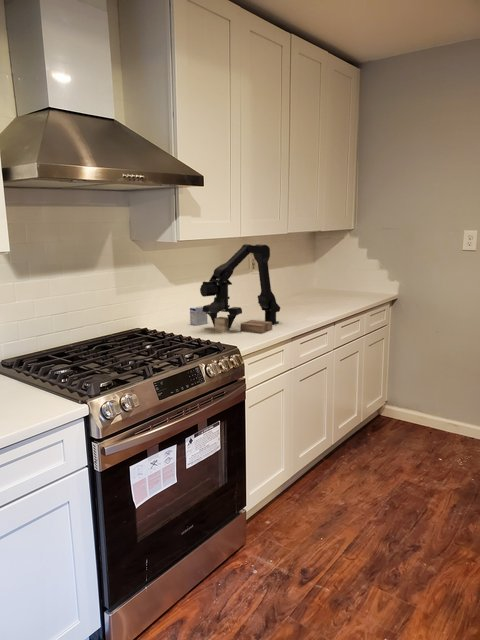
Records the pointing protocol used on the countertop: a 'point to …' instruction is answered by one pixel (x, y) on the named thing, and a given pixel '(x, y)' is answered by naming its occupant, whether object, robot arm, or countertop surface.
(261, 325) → the walnut block
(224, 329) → the maple block
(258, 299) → the robot arm
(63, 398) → the countertop surface
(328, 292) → the countertop surface
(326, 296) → the countertop surface
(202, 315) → the box
